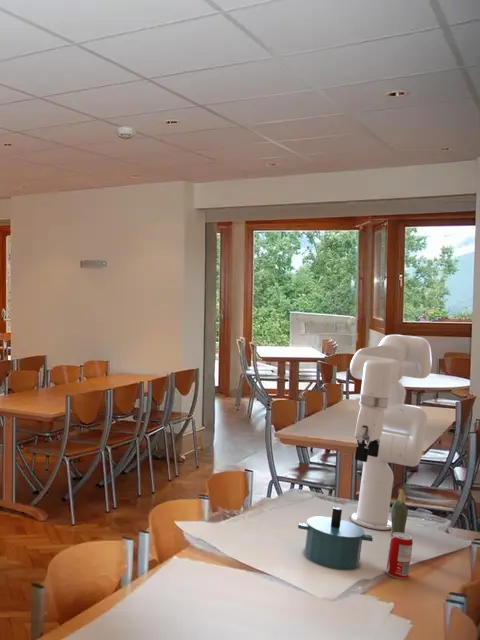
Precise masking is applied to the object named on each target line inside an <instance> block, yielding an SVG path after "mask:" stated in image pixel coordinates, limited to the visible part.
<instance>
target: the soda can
mask: <svg viewBox="0 0 480 640" xmlns="http://www.w3.org/2000/svg"><path fill="white" fill-rule="evenodd" d="M413 542H414V541H413V536H411V535H410V534H407V533H405V532H404V533H400V532H394V533H393V534H392V536H391V535H390V542H389V547H388V548H389V549H388V557H387V563H386V570H385V571H386V573H387V575H389V576H390V577H392V578H395V579H400V580H405V579H407V578H408V577H409V574H410V573H409V572H410V567H411V566H410V565H411V559H412V551H413Z"/></svg>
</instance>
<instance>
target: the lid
mask: <svg viewBox="0 0 480 640" xmlns="http://www.w3.org/2000/svg"><path fill="white" fill-rule="evenodd" d="M342 513H343V508H341V507H339V506H333V507H332V514H331V516H323V515H321V516H320V515H319V516H317V515H316V516H312V517H309V518H307V519H306V524H307V525H308V526H309V527H311V528H312V529H314V530H316V531H318V532H320V533H323V534H326V535H329V536H333V537H338V538H346V539H356V538H361V537H363V536H364V534H366V532H365V530H364V529H363V528H362V526H360V525H358V524H356V523H354V522H351V521H348V520H344V519H342Z"/></svg>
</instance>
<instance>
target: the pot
mask: <svg viewBox="0 0 480 640" xmlns="http://www.w3.org/2000/svg"><path fill="white" fill-rule="evenodd" d="M297 528H298V529H299V530H305V531H306V536H305V546H304V555H305V557H306V558H307V559H308V560H309V561H311V562H313V563H315V564H317V565H320V566H323V567H326V568H329V569H334V570H342V571H351V570H355V569H357V568H358V567H359V565H360V562H361V561H360V560H361V553H362V546H363V545H362V544H363V541H366V542H373V540H374V537H373V535H371V534H366V533H365V534H364V536H363V537H361V538H356V539H346V538H338V537H333V536H329V535H326V534H323V533H320V532H318V531H316V530H314V529H312V528H311V527H309V526H308V525H307V523H303V522H298V523H297Z"/></svg>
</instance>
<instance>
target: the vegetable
mask: <svg viewBox="0 0 480 640" xmlns="http://www.w3.org/2000/svg"><path fill="white" fill-rule="evenodd" d="M397 493H398V496H397V501H395V502H393V504H392V506H391V508H390V509H391V510H390V521H391V522H392V528H391V529H390V530H391V531H390V537H391V536H392V534H393V533H394V532H400V533H405V531H406V524H407V519H408V514H409V513H408V512H409V510H408V506H407V504H406V503H405V502H406V499H407V497H406V496H407V495H406V494H405V492H404V490H403V489H402V488H398V491H397Z"/></svg>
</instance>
